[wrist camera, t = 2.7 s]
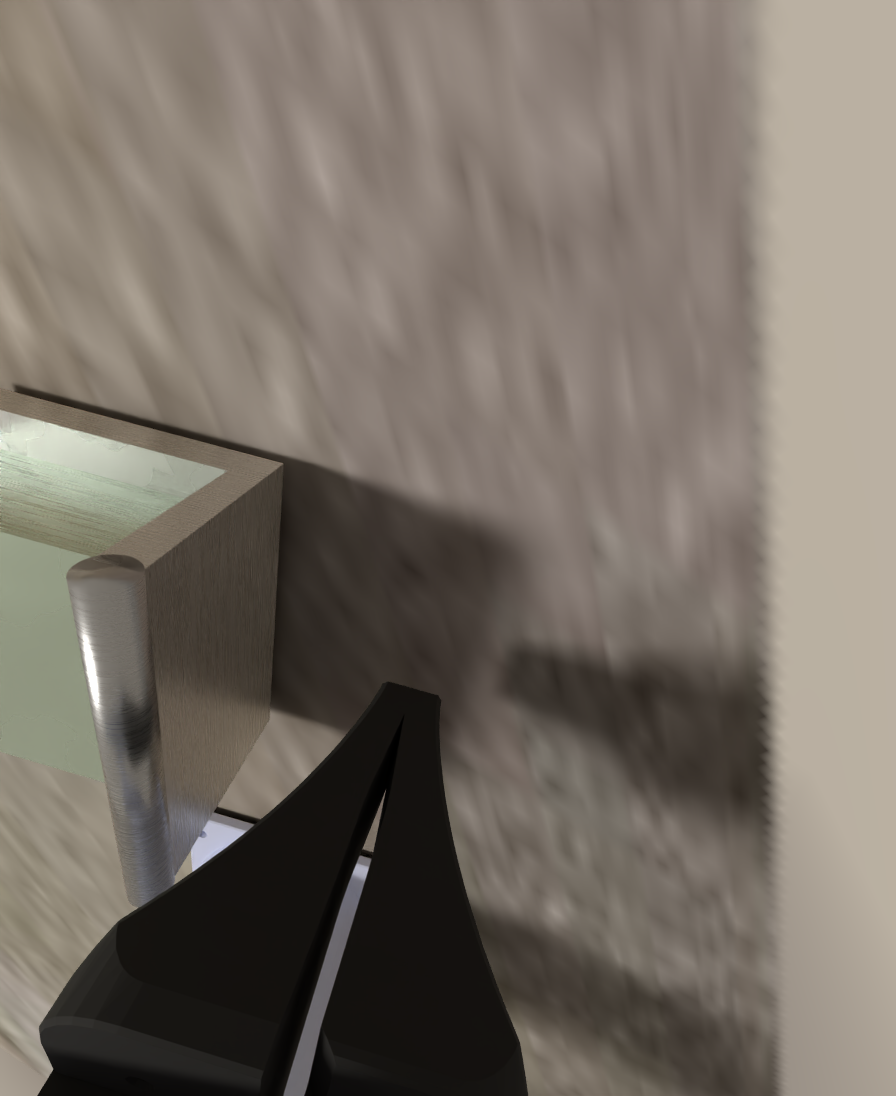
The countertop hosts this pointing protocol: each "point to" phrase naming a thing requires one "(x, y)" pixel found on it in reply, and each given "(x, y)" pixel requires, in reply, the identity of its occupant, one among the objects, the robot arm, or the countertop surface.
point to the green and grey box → (135, 617)
